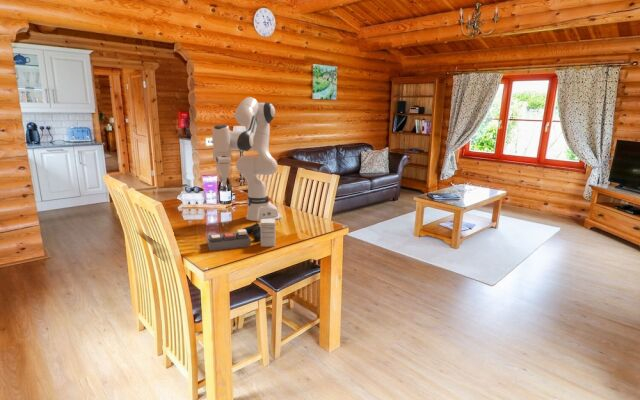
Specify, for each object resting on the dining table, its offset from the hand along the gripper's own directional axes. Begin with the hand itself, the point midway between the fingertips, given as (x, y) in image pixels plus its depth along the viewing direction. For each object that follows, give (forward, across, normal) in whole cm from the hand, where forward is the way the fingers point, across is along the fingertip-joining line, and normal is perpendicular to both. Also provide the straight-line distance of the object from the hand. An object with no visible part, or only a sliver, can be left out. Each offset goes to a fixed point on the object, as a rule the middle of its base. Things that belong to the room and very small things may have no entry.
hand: (223, 183), depth 192 cm
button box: (+29, +12, 0) cm, 31 cm away
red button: (+25, +14, 0) cm, 29 cm away
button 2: (+23, +14, +6) cm, 28 cm away
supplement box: (+29, +18, +19) cm, 39 cm away
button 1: (+25, +14, -6) cm, 29 cm away
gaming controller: (+30, +4, +16) cm, 34 cm away
